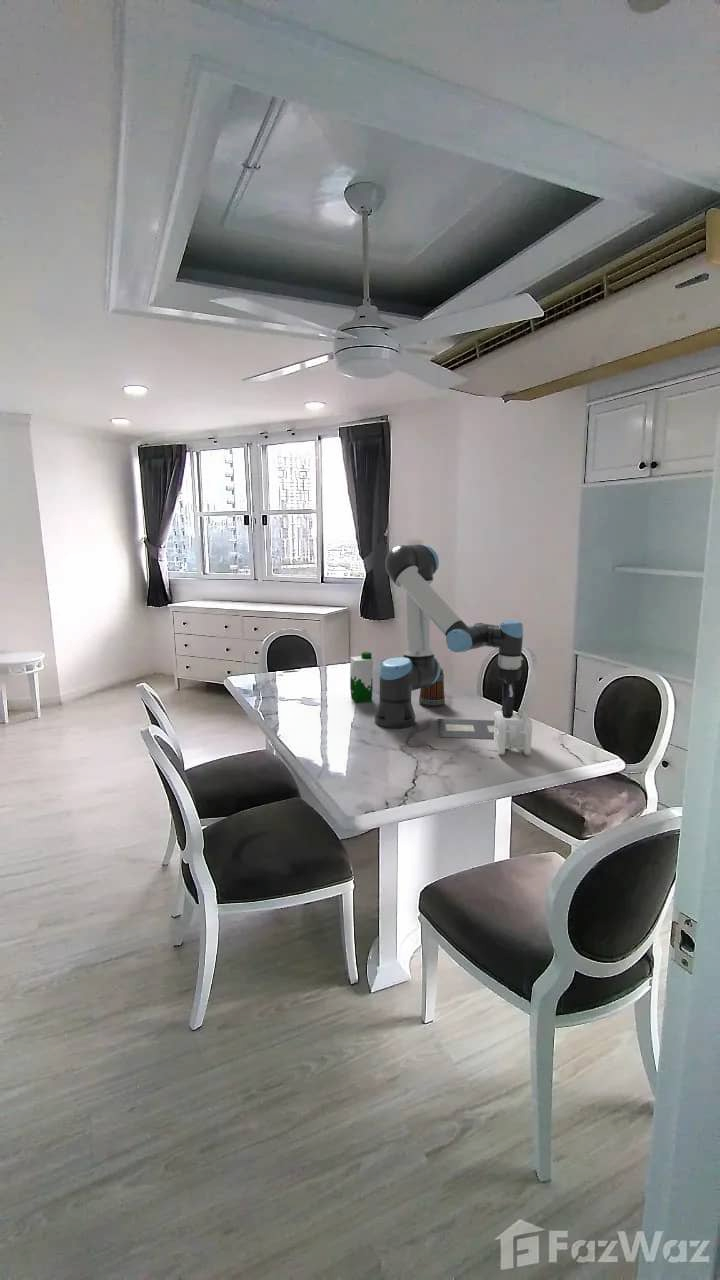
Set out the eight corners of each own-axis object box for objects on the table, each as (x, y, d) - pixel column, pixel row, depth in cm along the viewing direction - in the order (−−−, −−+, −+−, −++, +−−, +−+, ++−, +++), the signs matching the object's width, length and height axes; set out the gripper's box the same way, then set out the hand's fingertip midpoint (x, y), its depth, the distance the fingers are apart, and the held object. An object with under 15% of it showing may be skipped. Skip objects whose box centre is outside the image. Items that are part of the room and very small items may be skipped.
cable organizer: (531, 759, 189) (533, 724, 187) (497, 758, 190) (498, 722, 188) (523, 742, 204) (525, 709, 202) (491, 741, 205) (493, 708, 203)
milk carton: (374, 702, 250) (374, 655, 246) (353, 703, 247) (353, 656, 244) (369, 696, 258) (369, 650, 254) (348, 698, 256) (348, 651, 252)
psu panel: (439, 737, 209) (439, 736, 209) (437, 719, 228) (437, 718, 228) (528, 740, 206) (528, 739, 206) (518, 721, 226) (518, 721, 226)
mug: (446, 708, 242) (447, 671, 240) (419, 707, 243) (420, 671, 240) (441, 697, 258) (442, 662, 255) (416, 697, 258) (417, 662, 255)
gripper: (524, 671, 197) (520, 740, 201) (517, 662, 209) (514, 728, 214) (500, 671, 197) (497, 740, 202) (495, 662, 210) (492, 727, 214)
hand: (506, 733), depth 208 cm, fingers closed
